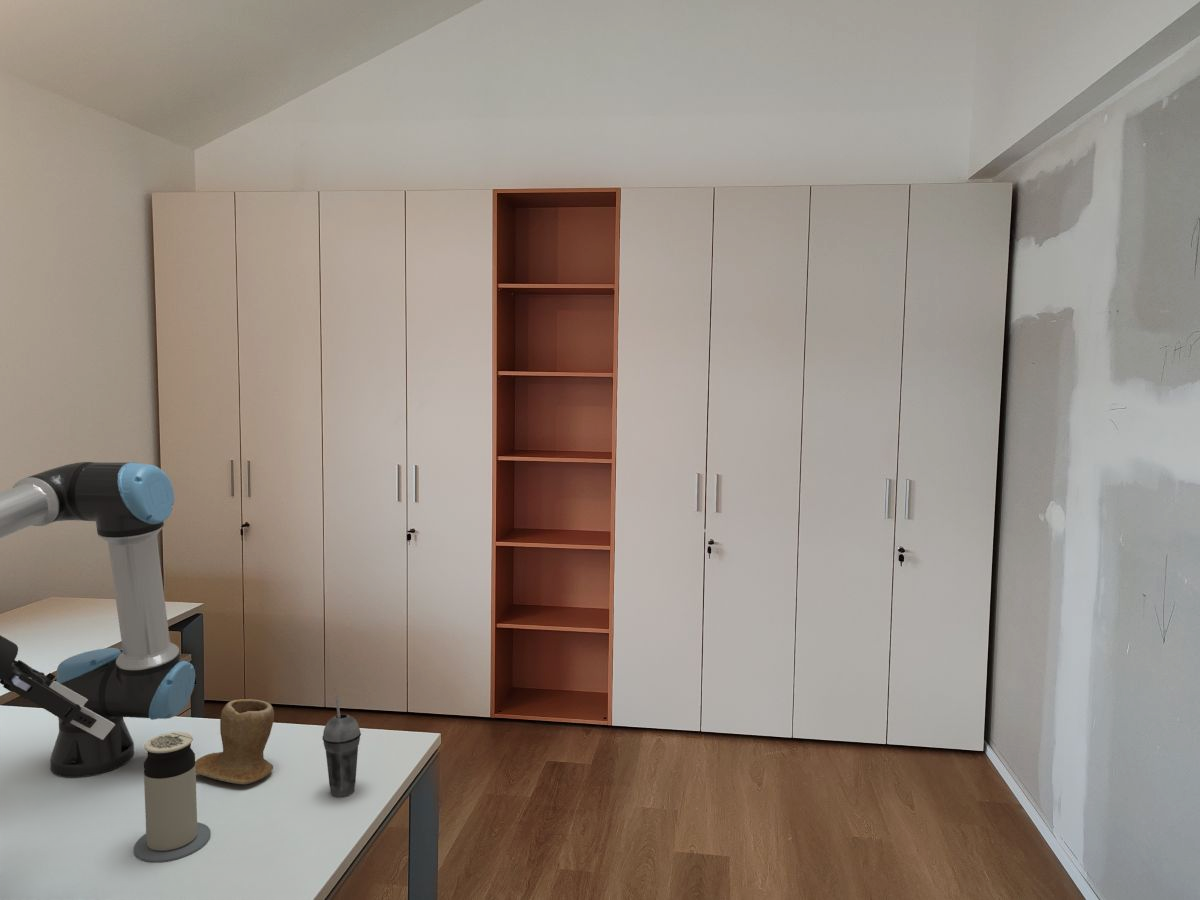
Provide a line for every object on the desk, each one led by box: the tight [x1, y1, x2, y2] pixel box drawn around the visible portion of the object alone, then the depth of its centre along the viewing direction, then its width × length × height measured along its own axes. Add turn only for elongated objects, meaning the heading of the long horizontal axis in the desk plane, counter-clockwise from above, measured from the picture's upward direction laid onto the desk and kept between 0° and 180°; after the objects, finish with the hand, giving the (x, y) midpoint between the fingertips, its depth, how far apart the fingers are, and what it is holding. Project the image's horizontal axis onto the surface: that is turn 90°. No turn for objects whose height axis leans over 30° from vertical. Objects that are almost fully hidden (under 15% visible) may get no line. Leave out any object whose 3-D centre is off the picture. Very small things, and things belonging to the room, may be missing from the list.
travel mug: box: [143, 731, 198, 851], centre depth 146 cm, size 8×8×18 cm
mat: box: [133, 821, 212, 863], centre depth 147 cm, size 12×12×1 cm
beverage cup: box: [321, 695, 362, 798], centre depth 164 cm, size 7×7×20 cm
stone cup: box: [195, 698, 275, 785], centre depth 171 cm, size 15×12×15 cm
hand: (94, 718), depth 138 cm, fingers open, 13 cm apart
